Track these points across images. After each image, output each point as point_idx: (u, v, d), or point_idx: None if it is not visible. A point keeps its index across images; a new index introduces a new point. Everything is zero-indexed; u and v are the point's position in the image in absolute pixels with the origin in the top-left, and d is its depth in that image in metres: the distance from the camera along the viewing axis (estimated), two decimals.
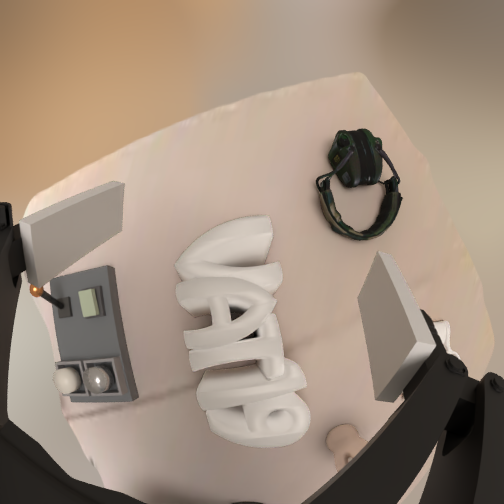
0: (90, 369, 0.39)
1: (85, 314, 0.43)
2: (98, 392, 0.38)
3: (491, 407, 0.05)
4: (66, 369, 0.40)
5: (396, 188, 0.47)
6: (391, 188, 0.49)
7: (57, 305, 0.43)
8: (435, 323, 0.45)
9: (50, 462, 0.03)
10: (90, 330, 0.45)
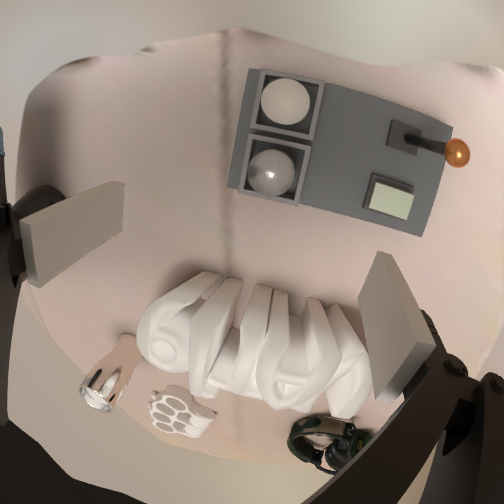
0: (291, 177, 0.27)
1: (378, 188, 0.28)
2: (249, 172, 0.27)
3: (491, 407, 0.05)
4: (305, 114, 0.25)
5: (311, 462, 0.52)
6: (315, 455, 0.54)
7: (413, 142, 0.25)
8: (202, 432, 0.58)
9: (50, 462, 0.03)
10: (352, 167, 0.30)
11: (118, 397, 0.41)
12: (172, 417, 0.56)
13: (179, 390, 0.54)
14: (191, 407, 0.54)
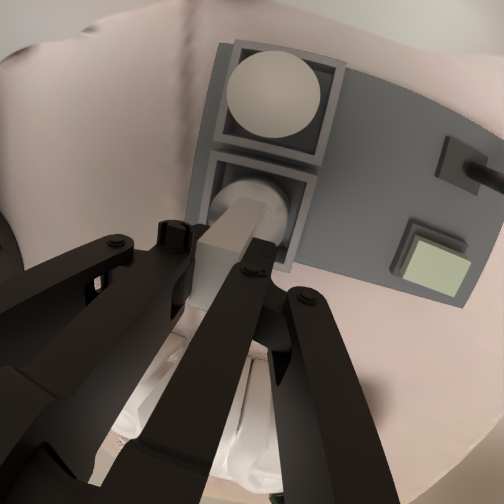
0: (280, 228, 0.16)
1: (420, 250, 0.17)
2: (212, 218, 0.17)
3: (305, 323, 0.07)
4: None
5: None
6: None
7: (482, 178, 0.14)
8: None
9: (50, 462, 0.03)
10: (380, 210, 0.19)
11: None
12: None
13: None
14: None
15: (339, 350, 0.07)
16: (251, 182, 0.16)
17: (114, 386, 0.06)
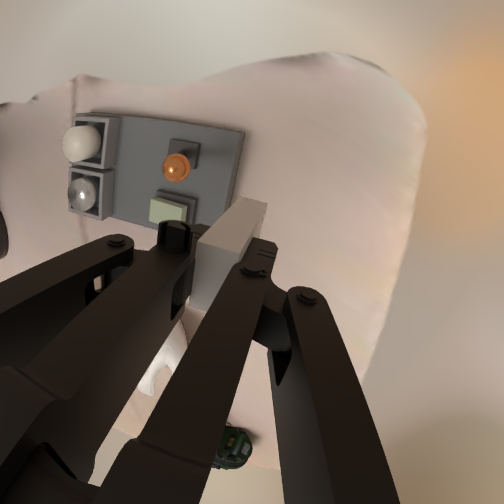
0: (89, 197, 0.33)
1: (153, 204, 0.33)
2: (68, 195, 0.34)
3: (305, 323, 0.07)
4: (89, 151, 0.30)
5: None
6: None
7: None
8: None
9: (50, 462, 0.03)
10: (144, 186, 0.35)
11: None
12: None
13: None
14: None
15: (339, 350, 0.07)
16: (78, 179, 0.33)
17: (114, 386, 0.06)
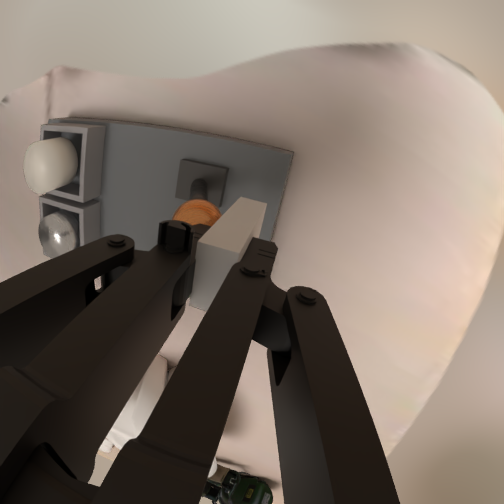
0: (66, 243, 0.23)
1: None
2: (40, 237, 0.23)
3: (304, 323, 0.07)
4: (60, 178, 0.20)
5: (207, 497, 0.46)
6: (213, 491, 0.48)
7: None
8: (110, 449, 0.53)
9: (50, 462, 0.03)
10: (143, 227, 0.25)
11: None
12: None
13: None
14: None
15: (339, 350, 0.07)
16: (50, 216, 0.22)
17: (114, 386, 0.06)
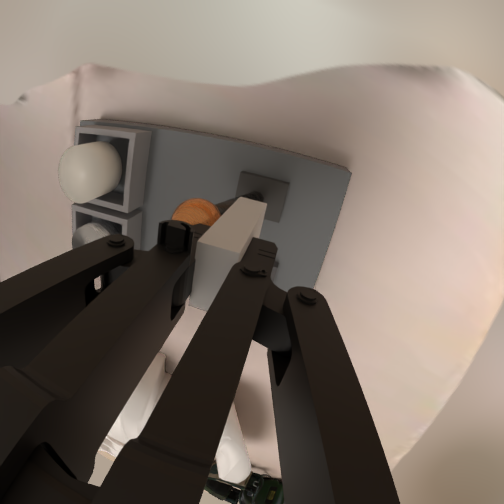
0: None
1: None
2: (74, 248, 0.23)
3: (304, 323, 0.07)
4: (104, 186, 0.20)
5: (226, 500, 0.46)
6: (232, 494, 0.48)
7: None
8: None
9: (50, 462, 0.03)
10: None
11: None
12: None
13: None
14: None
15: (339, 350, 0.07)
16: (88, 226, 0.22)
17: (114, 386, 0.06)
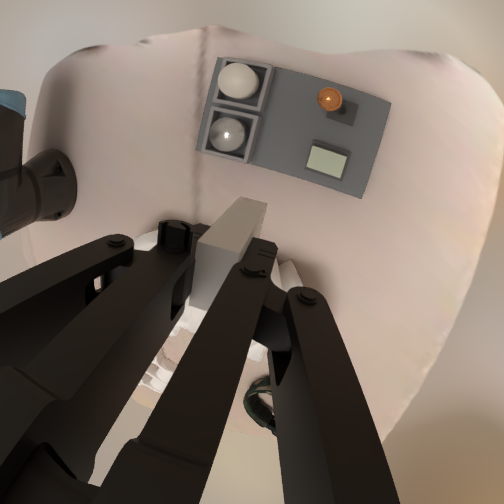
0: (240, 136, 0.35)
1: (314, 150, 0.35)
2: (210, 133, 0.35)
3: (305, 323, 0.07)
4: (252, 90, 0.31)
5: (267, 427, 0.58)
6: (272, 422, 0.60)
7: None
8: None
9: (50, 462, 0.03)
10: (296, 135, 0.37)
11: None
12: None
13: None
14: (159, 359, 0.61)
15: (339, 350, 0.07)
16: (228, 117, 0.34)
17: (114, 386, 0.06)
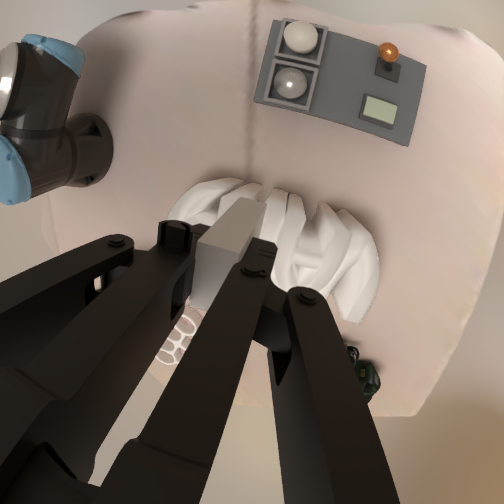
0: (304, 85, 0.34)
1: (369, 100, 0.34)
2: (275, 81, 0.35)
3: (305, 323, 0.07)
4: (314, 45, 0.31)
5: None
6: None
7: None
8: None
9: (50, 462, 0.03)
10: (349, 89, 0.36)
11: None
12: (177, 343, 0.62)
13: (190, 310, 0.60)
14: None
15: (339, 350, 0.07)
16: (292, 68, 0.34)
17: (114, 386, 0.06)
